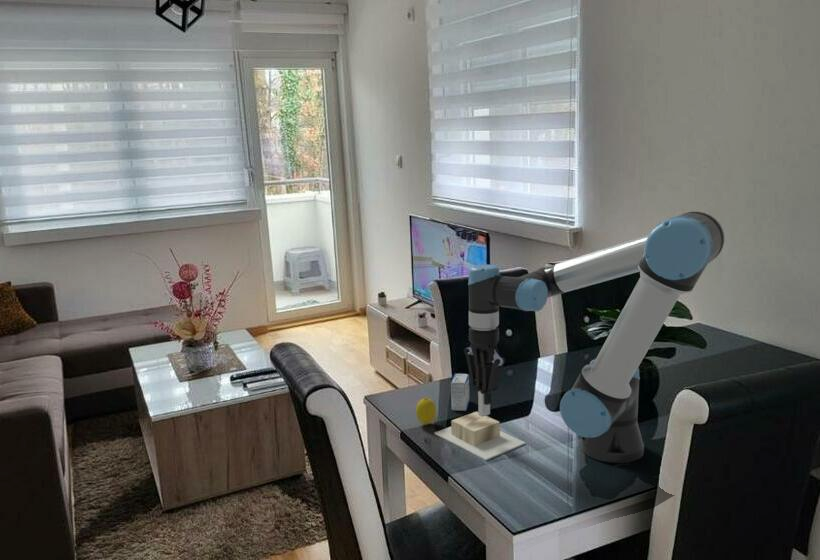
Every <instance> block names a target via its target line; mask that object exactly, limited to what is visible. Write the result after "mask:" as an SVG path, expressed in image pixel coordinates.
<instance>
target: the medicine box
mask: <svg viewBox="0 0 820 560" xmlns="http://www.w3.org/2000/svg"><path fill="white" fill-rule="evenodd" d="M450 398H451V400H450V401H451V402H450V403H451V404H450V405H451V410H452V411H462V412H463V411H464V412H466V411H467V409H468V407H469V403H470V375H469V373H468V374H467V373H454V375H453V377H452V380H451V381H450Z"/></svg>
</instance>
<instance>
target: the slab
mask: <svg viewBox="0 0 820 560" xmlns="http://www.w3.org/2000/svg"><path fill="white" fill-rule="evenodd" d="M500 423H501V422H500V421H498V420H496V419H494V418H492V417H490V416H489V415H486V416H484V417H481V416H479V415H478V411H473V412H472V413H469V414H466V415H463V416H460V417H458V418H455V419H452V420H451V421H450V424H451V426H450V427H451V434H452V435H453V436H455V437H457V438H459V439H461V440H463V441H465V442H467V443H469V444H471V445H473V446H476V445H479V444H481V443H484V442H486V441H489V440H491V439H494V438H496V437H499V436H500V431H501V429H500V428H501V427H500V426H501V424H500Z"/></svg>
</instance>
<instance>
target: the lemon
mask: <svg viewBox="0 0 820 560" xmlns="http://www.w3.org/2000/svg"><path fill="white" fill-rule="evenodd" d="M415 414H416V418H417V420H418V421H419V422H420V423H422V424H424V425H425V426H428V425H429V424H430V423H433V421H434V420H435V418H436V416H437V407H436V405H435V402H434V401H433V400H432V399H430V398H428V397H424V398H422V399H420V400H419V401H418V402H417V404H416V408H415Z"/></svg>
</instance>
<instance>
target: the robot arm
mask: <svg viewBox="0 0 820 560" xmlns="http://www.w3.org/2000/svg"><path fill="white" fill-rule="evenodd" d="M724 244H725V232H724V228H723V226H722V225H721V223H720V221H718V220H717V218H715V217H714V216H712V215H711V214H709V213H706V212H702V211H689V212H685V213H682V214H680V215H678V216H677V215H676V216H673V217H669V218H667V219H665V220H663V221H662V222H660V223H658V224H657V225H656V226H655V227H654V228H653V229H652V231H650V233H648V234H645V235H642V236H638V237H635V238H632V239H629V240H626V241H622V242H619V243H618V244H614V245H610V246H608V247H604V248H601V249H598V250H594V251H592V252H591V251H590V252H589V253H586V254H582V255H579V256H577V257H573V258H570V259H567V260H564V261H560V262H557V263H555V264H551V265H546V266H543V267H540V268H538V269H537V270H534V271H532V272H529V273H527V274H523V275H521V276H506V275H501V274H500V268H499V267H498V266H497V265H494V264H477V265H476V264H475V265H472V266H471V267H469V271H468V283H467V285H468V287H467V288H468V326H469V327H468V341H469V342H470V346H469V347H466V348H464V349H463V352H464V355H465V358H466V361H467V368H468V369H467V370H468V375H469V382H470V385H471V387H475V390H476V400H477V402H478V405H477V406H478V409H477V412H478V415H479V416H481V417H484V416H489V415H491V404H492V394H493V393H494V392H497V391H498V390H499V385H500V379H501V375H502V374H501V373H502V369H503V366H504V364H505V362H506V358H505V357H501V356H500V355H499V350H498V348H497V345H498V343H499V341H500V328H499V325H500V307H502V308H509V309H514V310H522V311H524V312H531V311H532V312H539V311H541V310H543V309H544V307H545V305H546V303H547V301H548V298H551V297H555V296H559V295H561V294H565V293H567V292H571V291H574V290H575V291H576V290H579V289H583V288H586V287H589V286H592V285H593V286H594V285H597V284H601V283H603V282H607V281H610V280H615V279H617V278H622V277H625V276H628V275H629V276H630V275H632V274H636V273H639V272H640V273H639V274H640V277H639V278H638V281H637V282H636V284H635V286H634V287H633V290H632V292H631V294H630V295H629V298H627V301H626V302H625V305H624V307H623V308H622V310H621V311H620V314H619V316H618V317H617V319H616V321H615V323H614V325H613V327H612V328H611V330H610V332H609V334H608V336H607V338H606V339H605V342H604V343H603V346H602V347H601V349H600V350H599V353H598V355H597V357H595V358H594V359H592V360H591V361H590V363H589V364H586V365H584V366H583V368H582V369H581V371H580V373H579V375H578V377H577V378H576V381H575V382H574V384H573V386H572V388H571V389H569V390H567V391H566V392H565V393H564V394H563V396H562V398H561V400H560V402H559V412H560V415H561V418H562V420H563V422H564V424H565V425H566V426H567V428H568V429H569V430H571V431H572V432H573V433H575V434H576V435H578V436H580V450H581V451H582V452H583V453H584V455H586V456H588V457H590V458H592V459H594V460H597V461H600V462H605V463H609V464H610V463H611V464H627V463H633V462H635V461H638V460H639V459H641V458H642V457H643V456H644V453H645V444H644V440H643V437H642V434H641V431H640V430H641V429H640V427H639V424H638V413H639V396H640V395H639V393H640V391H639V390H640V380H641V377H640V368H639V367H640V364H642V361H643V360H644V358H645V356H646V354H647V353H648V351H649V350H650V347H651V346H652V344H653V342H654V340H655V339H656V338H657V336H658V334H659V332H660V330H661V329H662V327H663V325H664V323H665V322H666V320H667V318H668V317H669V315H670V313H671V311H672V310H673V308H674V306H675V304H676V303H677V301H678V299H679V297H680V296H681V295H684V294H688V293H691V292H692V291H693V290H694V287H695V286H696V284H697V282H698V281H699V280H700V278H701V276H702V275H703V274H702V273H704V271H705V270H706V268H707V266H708V264H710V263H711V262H713V261H714V260H715V259H716V258H717V257H718V256H719V255H720V254H721V252H722V250H723V248H724Z"/></svg>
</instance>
